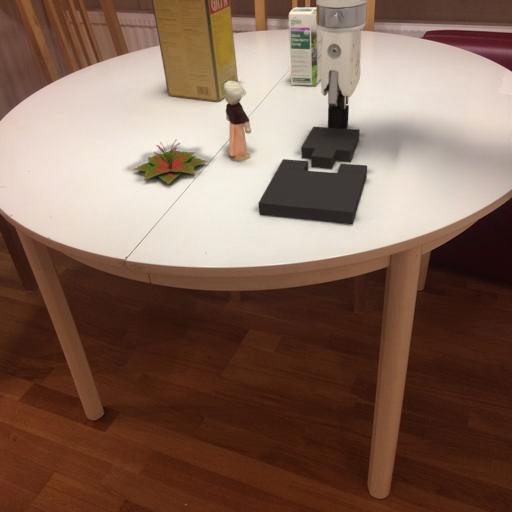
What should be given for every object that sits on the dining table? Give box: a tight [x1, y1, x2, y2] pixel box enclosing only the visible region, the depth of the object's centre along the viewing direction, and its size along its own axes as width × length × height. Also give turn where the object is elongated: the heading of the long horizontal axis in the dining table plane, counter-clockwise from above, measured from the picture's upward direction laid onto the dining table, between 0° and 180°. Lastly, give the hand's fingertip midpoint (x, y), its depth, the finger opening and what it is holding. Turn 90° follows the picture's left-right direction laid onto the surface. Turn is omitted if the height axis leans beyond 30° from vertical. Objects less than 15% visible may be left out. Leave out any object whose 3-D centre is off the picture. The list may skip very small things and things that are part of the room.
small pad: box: [300, 126, 361, 170], centre depth 86 cm, size 8×11×2 cm
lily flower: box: [131, 138, 210, 185], centre depth 85 cm, size 12×12×5 cm
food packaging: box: [151, 0, 239, 103], centre depth 106 cm, size 13×9×25 cm
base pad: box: [257, 158, 368, 225], centre depth 76 cm, size 13×13×2 cm
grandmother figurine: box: [224, 81, 252, 162], centre depth 84 cm, size 8×4×13 cm, turn 40°
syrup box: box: [288, 6, 322, 87], centre depth 109 cm, size 6×6×14 cm
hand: (337, 128), depth 90 cm, fingers closed
